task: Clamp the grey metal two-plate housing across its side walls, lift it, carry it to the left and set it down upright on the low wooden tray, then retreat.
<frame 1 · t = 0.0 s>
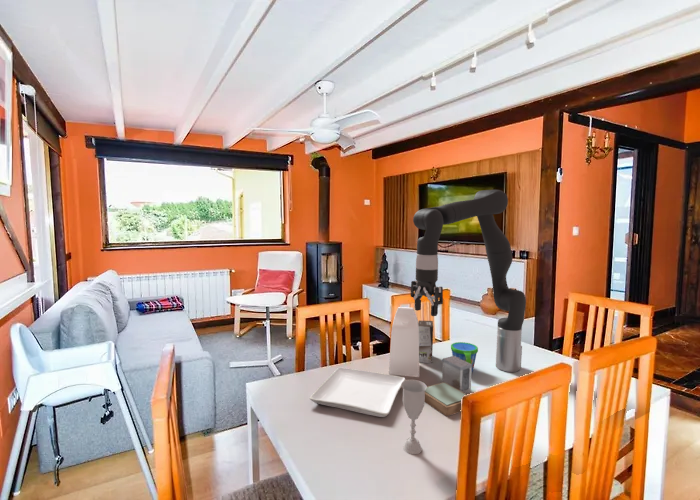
hand: (425, 312, 133), 29 cm above the table, fingers open, 8 cm apart
snack cup: (463, 370, 155), on the table
square plate: (360, 397, 134), on the table
housing: (456, 388, 140), on the table
chalice: (412, 448, 104), on the table
coffee box: (424, 359, 167), on the table
milk: (404, 370, 156), on the table
wooden tray: (445, 402, 129), on the table
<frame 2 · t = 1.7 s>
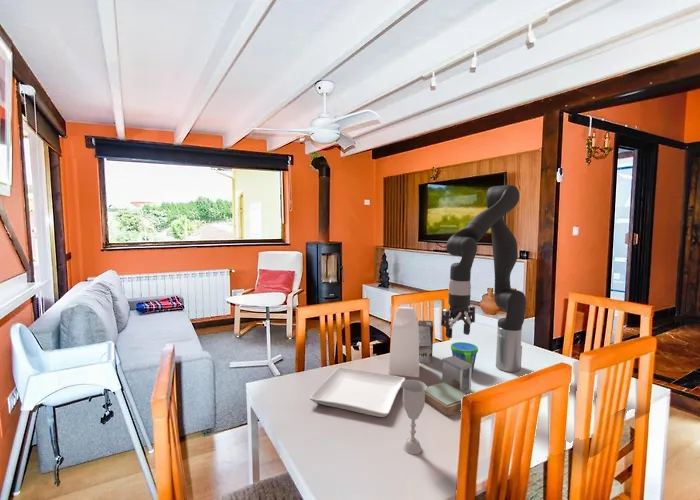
hand: (457, 336, 138), 20 cm above the table, fingers open, 8 cm apart
nothing on the table moved.
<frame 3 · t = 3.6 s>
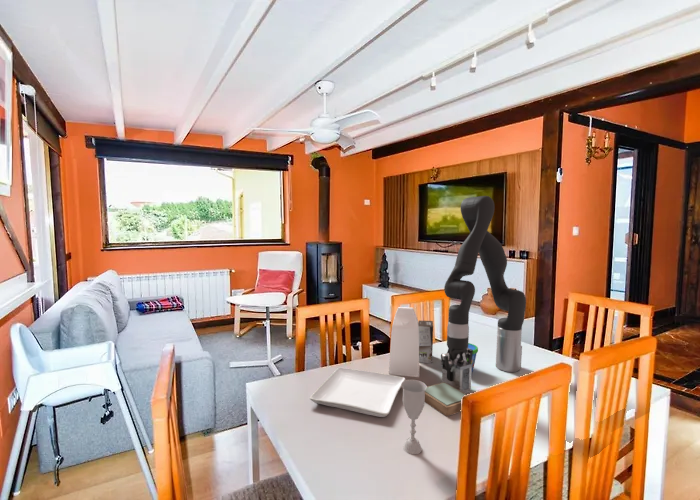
hand: (456, 378, 139), 4 cm above the table, fingers closed on housing, 5 cm apart
housing: (456, 387, 140), on the table, touching gripper
everything else where it was.
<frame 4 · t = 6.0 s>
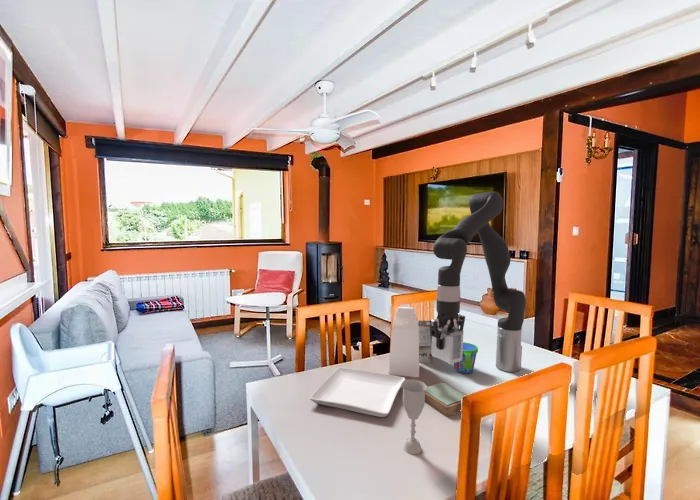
hand: (446, 347, 127), 19 cm above the table, fingers closed on housing, 5 cm apart
housing: (446, 357, 128), point 16 cm above the table, touching gripper
everything else where it was.
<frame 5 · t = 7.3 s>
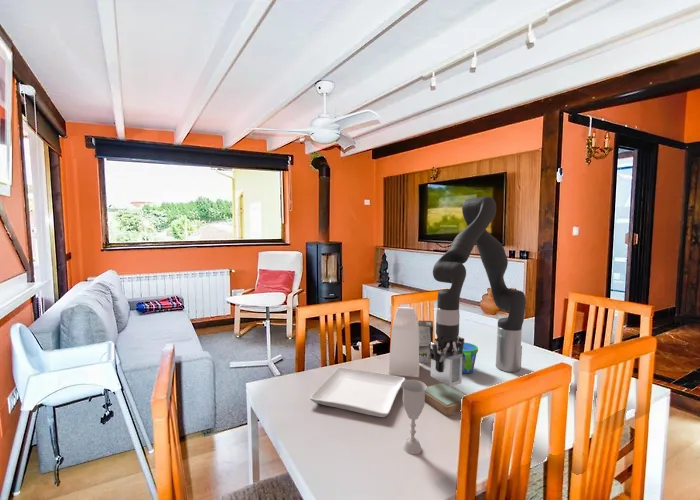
hand: (446, 369, 128), 12 cm above the table, fingers closed on housing, 5 cm apart
housing: (445, 379, 129), point 8 cm above the table, touching gripper
everything else where it was.
when the fingers open (8 cm above the table, at t = 8.5 s): housing stays where it is, resting on wooden tray.
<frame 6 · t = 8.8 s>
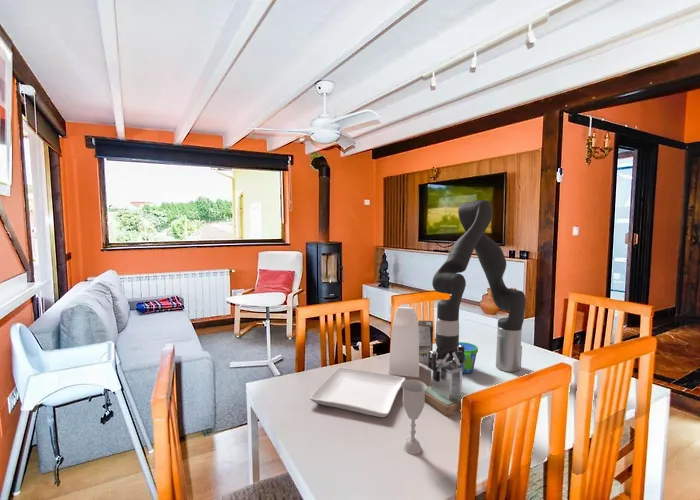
hand: (445, 378, 128), 8 cm above the table, fingers open, 8 cm apart
housing: (445, 392, 129), point 3 cm above the table, touching wooden tray
everything else where it was.
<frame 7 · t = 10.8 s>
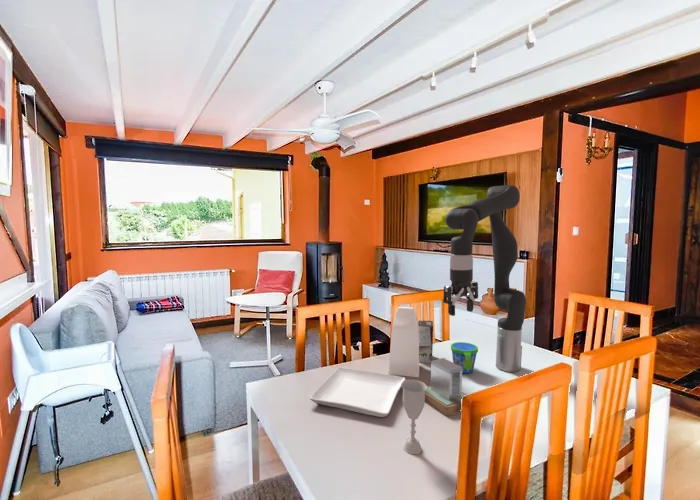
hand: (460, 313, 132), 30 cm above the table, fingers open, 8 cm apart
nothing on the table moved.
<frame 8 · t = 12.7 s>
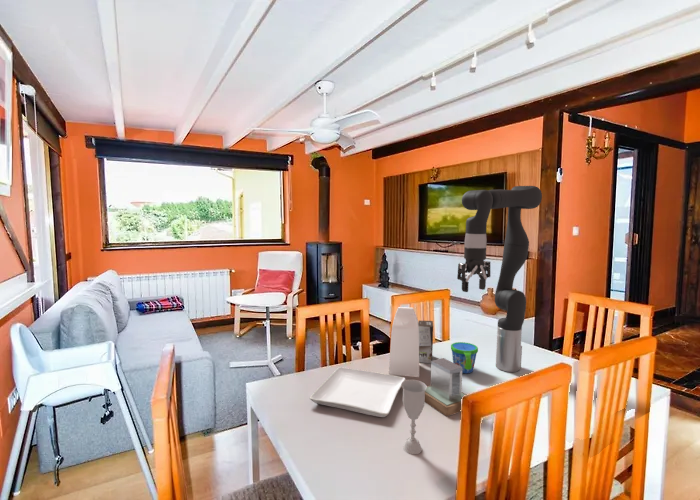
hand: (473, 290, 138), 36 cm above the table, fingers open, 8 cm apart
nothing on the table moved.
at the end: housing inside the target area on the wooden tray (0.1 cm from its centre), point 3.3 cm above the wooden tray's base; housing tilted 0°; the gripper is holding nothing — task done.
